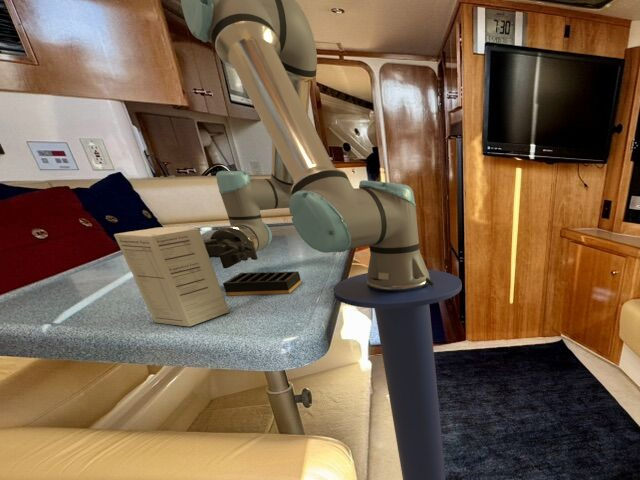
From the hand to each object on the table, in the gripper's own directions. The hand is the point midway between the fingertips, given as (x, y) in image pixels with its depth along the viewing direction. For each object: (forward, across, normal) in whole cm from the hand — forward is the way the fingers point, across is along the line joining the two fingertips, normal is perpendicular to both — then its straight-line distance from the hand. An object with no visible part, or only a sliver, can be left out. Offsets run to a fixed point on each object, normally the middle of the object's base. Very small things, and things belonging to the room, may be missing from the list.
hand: (186, 262), depth 80 cm
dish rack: (-15, -7, -10) cm, 19 cm away
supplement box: (+5, 0, -10) cm, 11 cm away
